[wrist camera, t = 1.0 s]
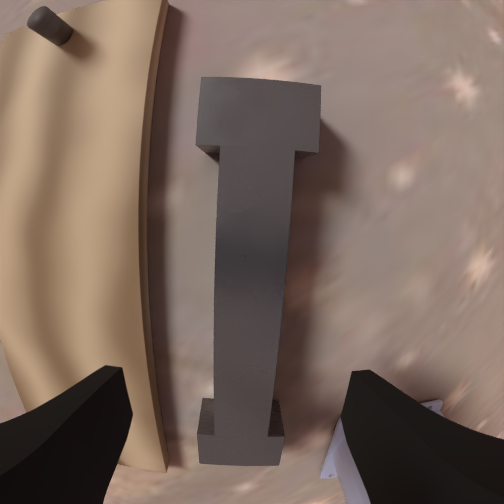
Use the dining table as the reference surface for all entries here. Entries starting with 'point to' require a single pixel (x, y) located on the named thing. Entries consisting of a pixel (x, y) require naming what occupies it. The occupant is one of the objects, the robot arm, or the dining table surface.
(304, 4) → the dining table surface
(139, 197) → the oak board
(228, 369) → the drawer pull handle
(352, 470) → the robot arm
